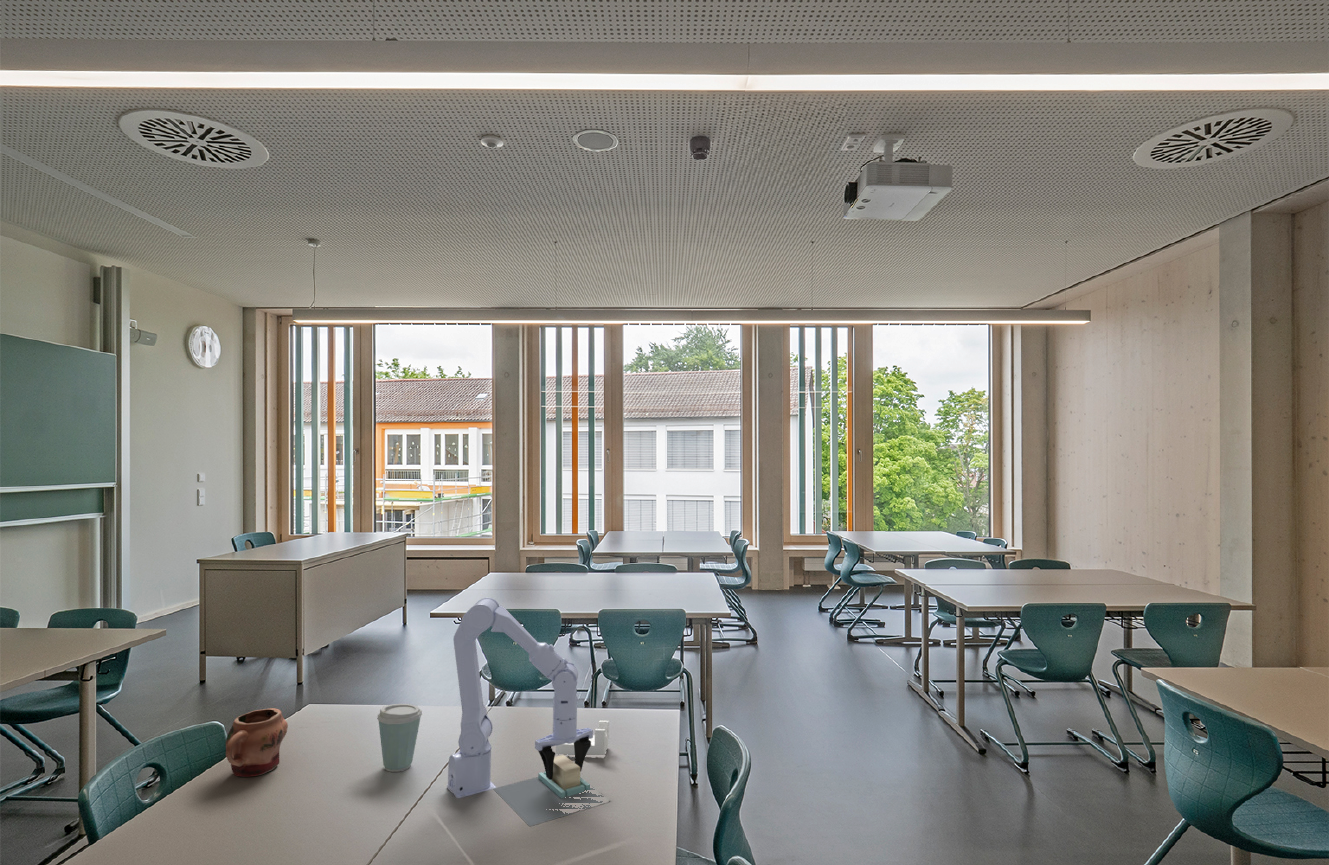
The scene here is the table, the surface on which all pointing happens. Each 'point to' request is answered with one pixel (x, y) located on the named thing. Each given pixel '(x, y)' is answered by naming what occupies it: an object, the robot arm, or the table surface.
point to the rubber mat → (539, 800)
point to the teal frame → (560, 791)
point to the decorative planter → (255, 742)
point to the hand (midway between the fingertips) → (563, 774)
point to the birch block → (565, 772)
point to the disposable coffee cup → (398, 735)
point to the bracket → (597, 742)
